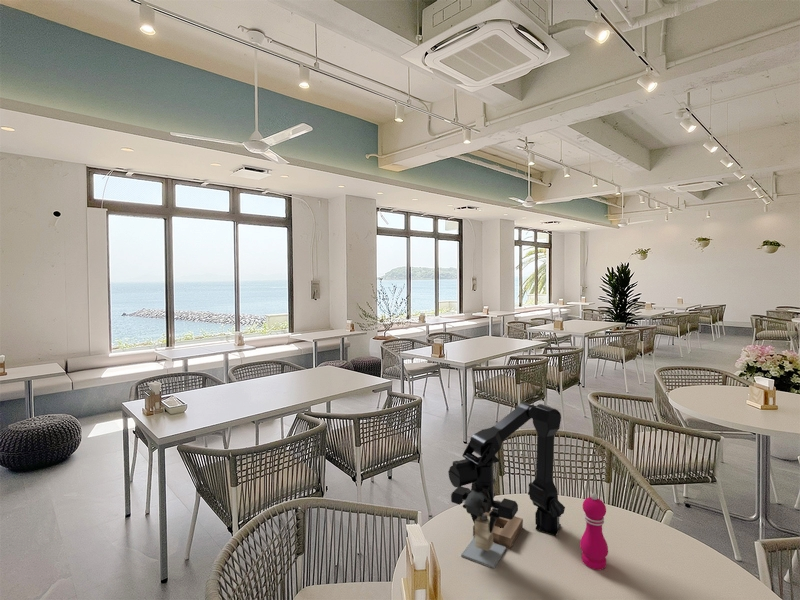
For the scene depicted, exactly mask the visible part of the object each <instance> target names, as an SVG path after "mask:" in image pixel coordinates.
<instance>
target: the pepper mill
mask: <svg viewBox="0 0 800 600" xmlns="http://www.w3.org/2000/svg"><path fill="white" fill-rule="evenodd" d="M582 510H583V511H584V518H583V519H584V521H585V523H586V526H585V530H584V532H583V534H582V535H581V538H580V541H579V542H580V544H579V547H580V550H581V561H582V563H583V565H585V566H586V567H588V568H589V569H593V570H599V571H600V570H604V569H605V568H606V566H607V556H608V554H609V546H608V543H607V541H606V539H605V537H604V533H603V526H604V524H605V515H606V513H607V507H606V504H605V503H604V501H603V500H602V499H600V498H599V496H598V494H597V493H596V492H594V493H591V494H590V496H589V497H587V498H585V499H584V500H583V502H582Z"/></svg>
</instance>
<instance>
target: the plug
mask: <svg viewBox="0 0 800 600" xmlns="http://www.w3.org/2000/svg"><path fill="white" fill-rule="evenodd" d="M489 528H490V517H489V516H487V515H486V514H483V515H482V516H478V517H477V518H476V519H475V536H474V537H475V547H477V548H480V549H483V550H486V551H489V550H490V548H491V547H492V545H493V543H494V542H493V531H492V533H490V529H489Z"/></svg>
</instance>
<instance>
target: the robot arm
mask: <svg viewBox="0 0 800 600" xmlns="http://www.w3.org/2000/svg"><path fill="white" fill-rule="evenodd" d="M531 419H532V424H533V427H534V429H535V431H536V434H537V440H536V442H537V443H536V466H535V467H536V470H535V472H536V473H535V478H534V479H533V481H532V482H529V483H528V493H527V495H529V498H530V499H529V500H531V501H532V505H533V506H535V507H536V508H537V509H536V511H535V513H534V514H535V519H534V520H535V530H536V531H539V532H543V533H546V534H548V535H552V536H558V533H559V531H560V529H561V526H562V524H561V523H560V517H562V515H563V514H564V513H565V510H566V507H565V506H564V504H563V503H561V501H560V500H559V495H558V489H557V488H556V485H555V482H554V480H553V473H554V451H555V450H554V449H555V448H554V447H555V446H554V444H555V435H556V434H557V433H558V431H559V430H560V428H561V421H562V414H561V412H560V411H559V410H558V409H556V408H554V407H551V406H548V405H546V404H543V403H542V404H541V403H539V404H537V405H534V404H530V403H528V402H520V403H519V404H518V405H517V407H516V408H514V409H513V410H512V411H510V413H508V414H507V415H505V416H504V417H503V418H502V419H500V420H499V421H498V422H497V423H495V424H494V425H493V426H491V427H488V428H484V429H481V430H479V431H477V432H475V433H474V434H473V435H471V437H470V440H469V442H468V444H467V445H466V448H465V450H464V451H463V453H462V457H463V458H464V459H461V460H454V461H452V465H451V466H450V467H449V469H448V472H447V473H448V479H449V481H450V483H451V485H452V486H453V487H454V488H455V489H454V490H453V491H452V492H451V494H450V501H451V503H453V504H457V505H461V504H462V507H463V509H465V510H466V513H467V514H469V515H470V516H471V519H472V522H473V526H474V525H475V519H476V518H477V517H478V516H482V515H483V513H485V512H487V513H489V512H490V510H491V509H492V511H491V512H490V514H489V516H490V528H489V529H490V533H492V531H493V528H494V526H495V523H496V520H497V518H500V517H503V518H506V519H509V520H510V519H513V517H514V516H515V517H516V514H517V513H518V511H519V504H518V503H517V501H516V500H513V499H512V500H511V499H509V498H503V499H502V500H498V499H497V500H494V498H495V497H496V493H495V492H494V484H496V480H495V479H494V464H495V463H498V462H499V463H500V458H498V457H497V456H496V454H498V452H500V450H501V448H502V447H503V443H504V441H505V440H506V439H508V438H509V437H511V435H513V433H515V432H516V431H517V430H519V429H520V428H521V427H523V426H524V425H525V424H526V423H527V422H529V420H531ZM474 453H475V454H477V455H478V456H476V455H475V454H474ZM470 484H471V488H468V487H465V486H466V485H470Z"/></svg>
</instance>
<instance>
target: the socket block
mask: <svg viewBox="0 0 800 600" xmlns="http://www.w3.org/2000/svg"><path fill="white" fill-rule="evenodd" d="M491 511H492V508H491V510H490V512H491ZM490 512H489V513H487V512H485V513H483V514H486V515H487V516H489V514H490ZM489 517H490V516H489ZM523 523H524V519H523V518H521V517H518V516H516V515H515V516H514V517H513V519H510V520H509V519H506V518H503V517H500V518H497V520H496V523H495V526H494V528H493V543H496V544H499V545H502V546H505V547H506V548H510V549H511V548H512V547H513V546H514V545H513V544H514V543H515V541H516V540H517V539H518V536H519V535H520V533H521V532H522V529H523V528H524V524H523ZM500 527H501V528H500ZM520 531H521V532H520ZM472 535H473V537H475V525H474V524H473V526H472Z"/></svg>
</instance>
